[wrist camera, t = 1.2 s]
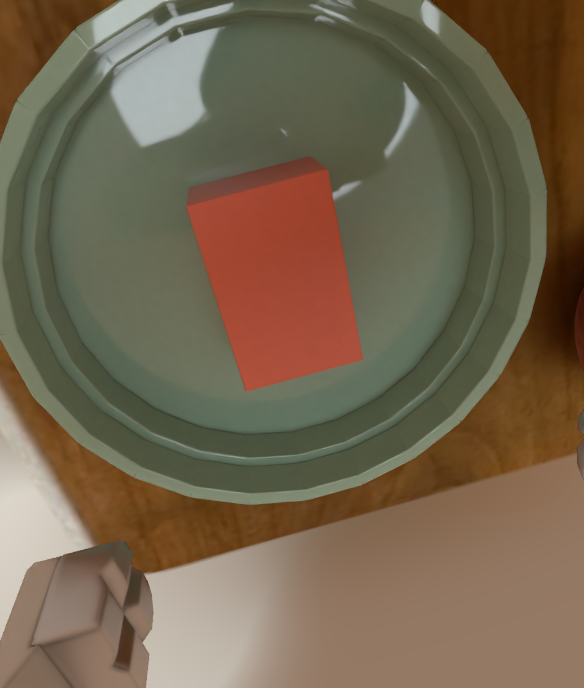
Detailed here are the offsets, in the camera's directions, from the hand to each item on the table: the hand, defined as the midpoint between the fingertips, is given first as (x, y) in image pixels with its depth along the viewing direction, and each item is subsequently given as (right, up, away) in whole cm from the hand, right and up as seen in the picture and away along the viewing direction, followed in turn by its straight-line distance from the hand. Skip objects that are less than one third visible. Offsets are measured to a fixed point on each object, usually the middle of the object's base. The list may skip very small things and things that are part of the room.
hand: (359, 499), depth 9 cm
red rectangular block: (-2, +6, +11) cm, 13 cm away
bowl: (-2, +6, +12) cm, 13 cm away
